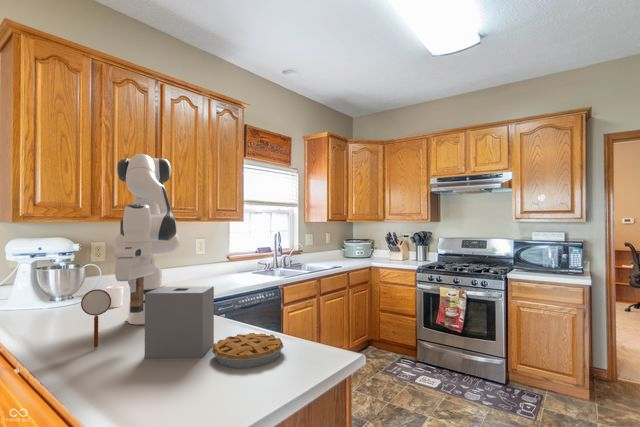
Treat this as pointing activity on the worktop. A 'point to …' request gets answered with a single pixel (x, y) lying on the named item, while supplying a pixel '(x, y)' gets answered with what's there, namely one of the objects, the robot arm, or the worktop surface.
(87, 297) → the magnifying glass
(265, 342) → the pie
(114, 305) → the white cup
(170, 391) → the worktop surface
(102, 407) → the worktop surface
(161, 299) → the grey tissue box
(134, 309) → the long brown rectangular block
